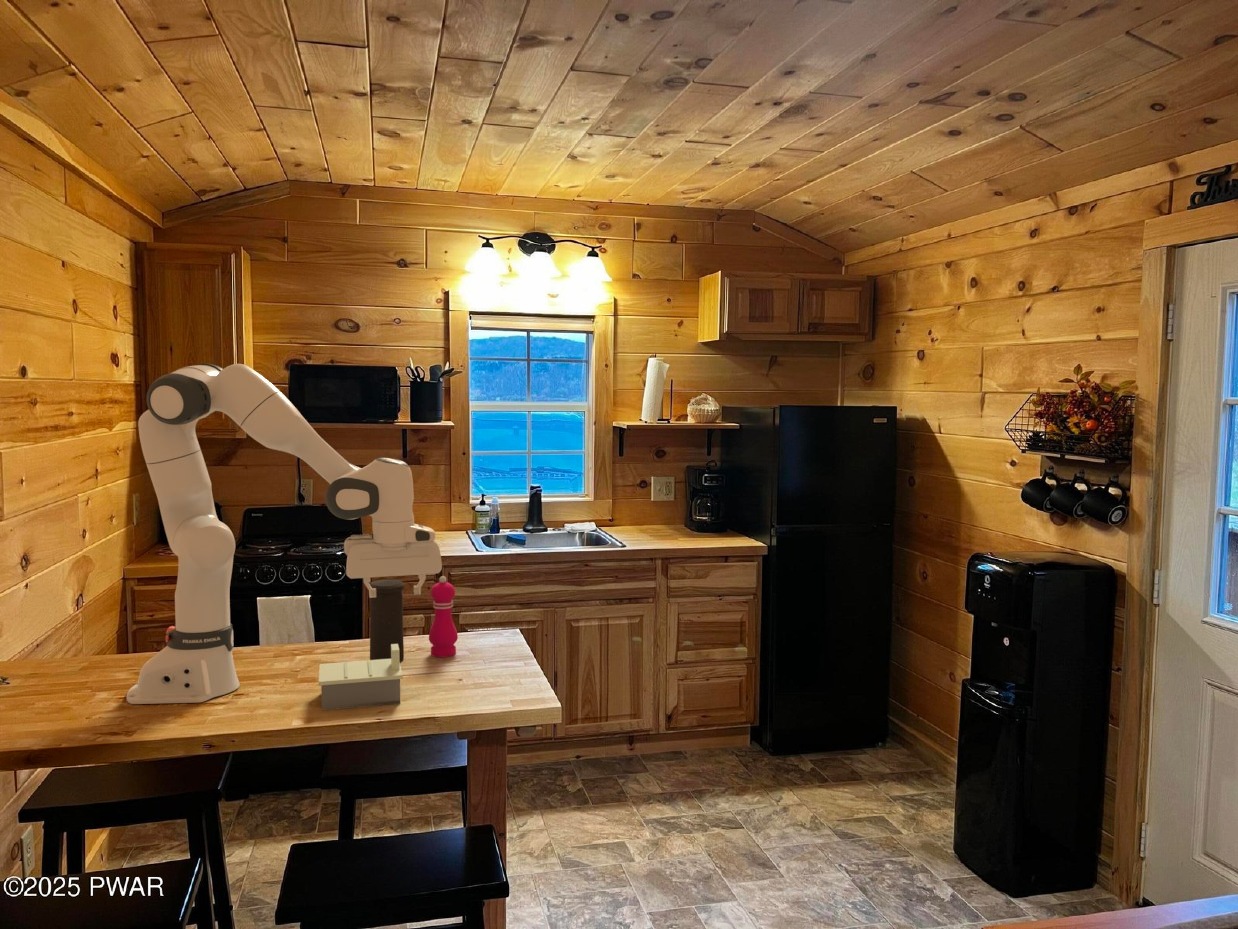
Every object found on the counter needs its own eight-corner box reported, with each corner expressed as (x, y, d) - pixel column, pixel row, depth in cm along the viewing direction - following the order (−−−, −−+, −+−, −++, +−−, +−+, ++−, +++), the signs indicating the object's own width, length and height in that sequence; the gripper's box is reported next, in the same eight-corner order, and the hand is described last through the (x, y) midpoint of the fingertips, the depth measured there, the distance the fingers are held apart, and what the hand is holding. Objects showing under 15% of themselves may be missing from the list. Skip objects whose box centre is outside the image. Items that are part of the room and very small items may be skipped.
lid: (318, 690, 192) (318, 661, 191) (319, 672, 204) (319, 644, 204) (402, 683, 197) (402, 654, 196) (398, 665, 209) (398, 639, 209)
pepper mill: (435, 659, 230) (434, 580, 228) (424, 652, 236) (424, 575, 234) (462, 655, 234) (461, 577, 232) (451, 648, 240) (450, 572, 238)
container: (410, 655, 233) (409, 577, 231) (398, 666, 224) (397, 585, 222) (376, 654, 234) (375, 576, 232) (363, 665, 225) (362, 584, 223)
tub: (321, 710, 193) (321, 684, 193) (322, 692, 204) (322, 668, 204) (400, 703, 198) (400, 678, 197) (396, 686, 209) (396, 662, 209)
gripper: (343, 537, 194) (345, 602, 195) (442, 532, 200) (443, 595, 201) (343, 533, 200) (345, 595, 201) (439, 528, 206) (440, 589, 207)
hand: (395, 595), depth 201 cm, fingers open, 8 cm apart
